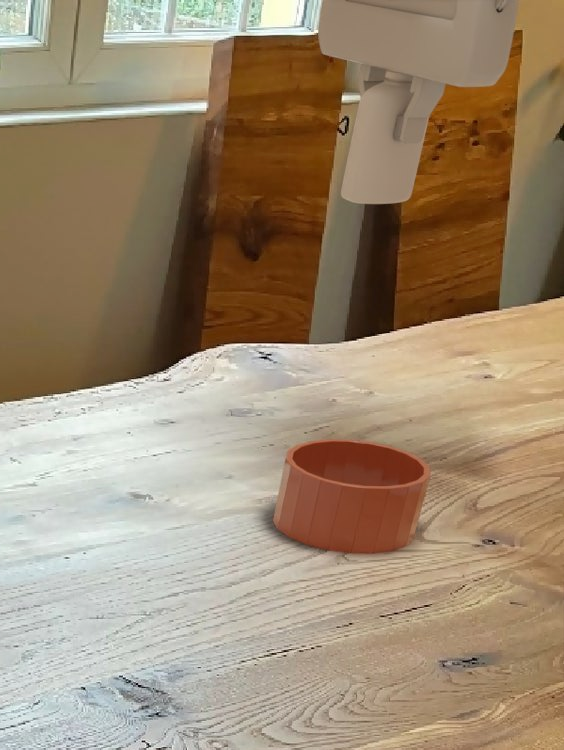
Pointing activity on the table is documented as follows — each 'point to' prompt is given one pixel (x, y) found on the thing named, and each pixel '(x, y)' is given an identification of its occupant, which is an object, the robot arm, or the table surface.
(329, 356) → the table surface
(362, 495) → the cup
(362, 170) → the eye dropper bottle
